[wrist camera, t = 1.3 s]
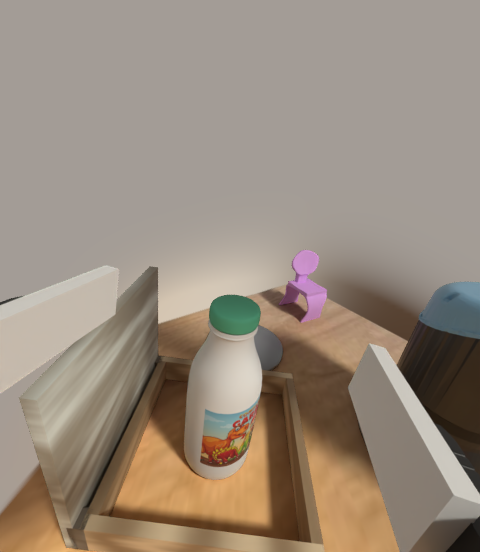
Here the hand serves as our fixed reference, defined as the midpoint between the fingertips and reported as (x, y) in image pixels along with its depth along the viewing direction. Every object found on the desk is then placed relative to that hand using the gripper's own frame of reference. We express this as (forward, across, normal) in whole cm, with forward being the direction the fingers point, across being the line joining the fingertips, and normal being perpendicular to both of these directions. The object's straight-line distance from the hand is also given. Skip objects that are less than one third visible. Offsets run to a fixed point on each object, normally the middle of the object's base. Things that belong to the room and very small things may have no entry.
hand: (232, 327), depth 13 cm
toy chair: (+48, +12, -19) cm, 53 cm away
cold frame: (+11, +1, -23) cm, 26 cm away
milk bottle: (+11, +1, -23) cm, 26 cm away
